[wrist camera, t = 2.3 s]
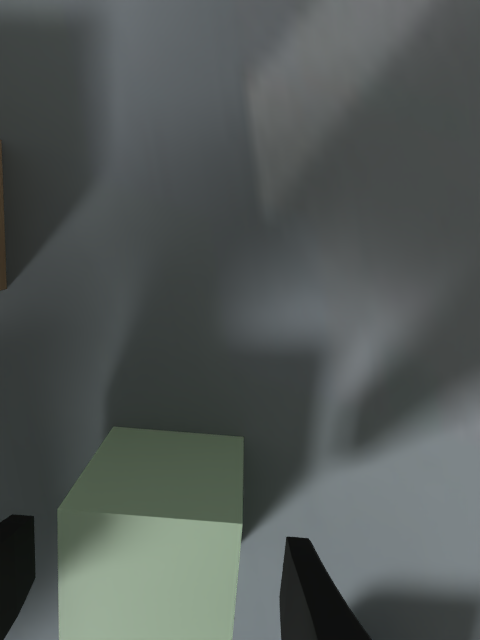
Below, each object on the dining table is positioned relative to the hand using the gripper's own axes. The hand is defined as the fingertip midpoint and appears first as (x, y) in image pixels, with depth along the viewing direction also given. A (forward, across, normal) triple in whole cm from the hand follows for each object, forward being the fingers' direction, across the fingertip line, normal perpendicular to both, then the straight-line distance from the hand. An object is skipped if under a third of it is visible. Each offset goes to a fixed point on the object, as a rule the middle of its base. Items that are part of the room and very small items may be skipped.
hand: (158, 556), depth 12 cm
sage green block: (+3, 0, 0) cm, 3 cm away
